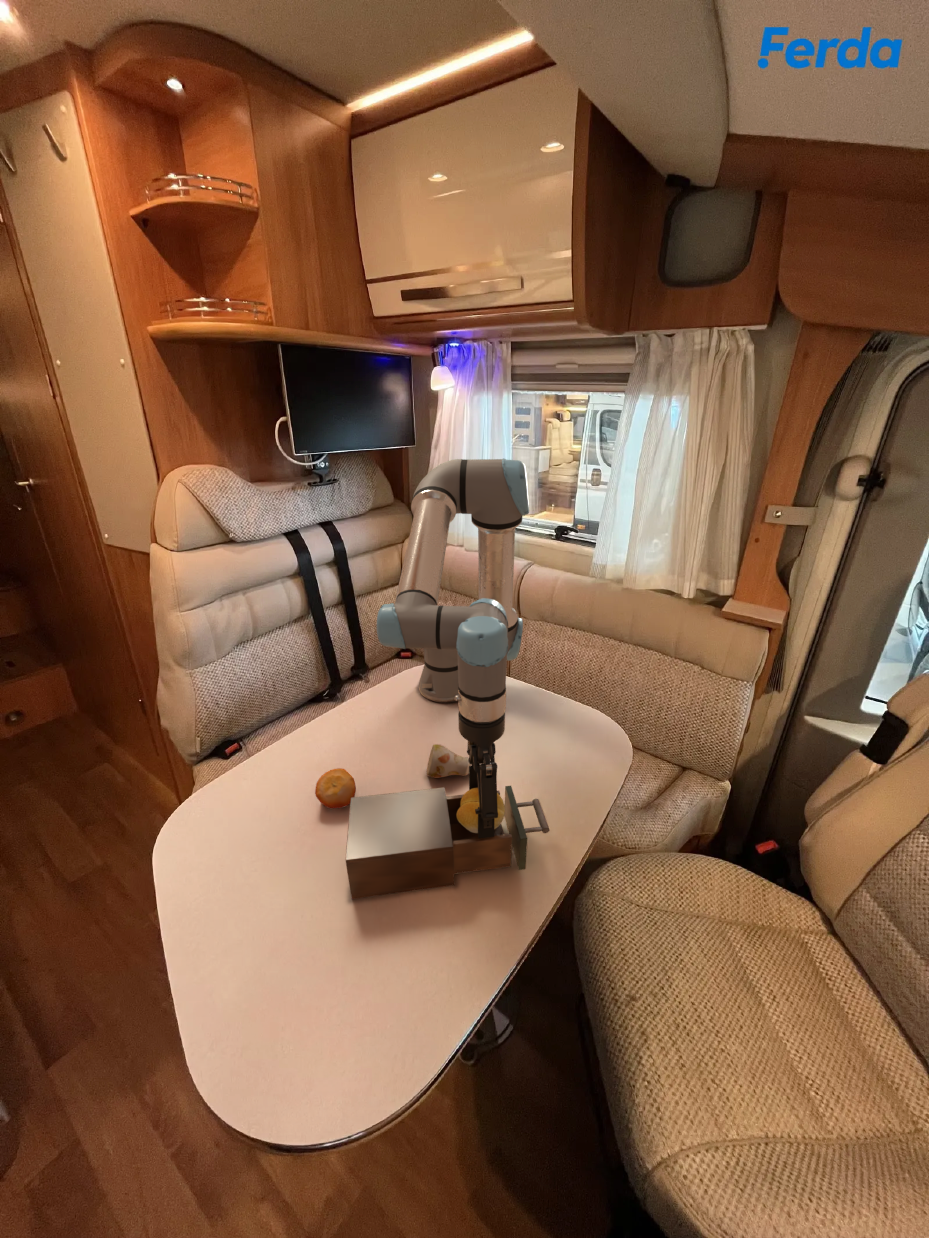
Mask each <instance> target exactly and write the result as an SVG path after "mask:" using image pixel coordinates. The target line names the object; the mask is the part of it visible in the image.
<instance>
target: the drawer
mask: <svg viewBox="0 0 929 1238" xmlns="http://www.w3.org/2000/svg"><path fill="white" fill-rule="evenodd" d="M497 793H498V794H499V795H500V796H501V792H500V790H497ZM464 794H465V793H463V794H457V795H446V798H447V805H448V812H449V819H450V826H451V833H452V840H453V847H454V875H456V874H463V873H464V874H465V873H470V872H471V873H472V872H478V871H486V870H494V869H502V868H508V867H511V866H512V851H513V854H514V857H515V861H516V865H517V869H518V871H523V870H526V868H527V867H526V866H527V865H526V864H527V849H528V835H527V834H531V833H532V834H533V833H540V832H542V833H543V834H548V833H549V832H550V830H551V829H550V826H549V824H548V821H547V817H546V815H545V813H544V810H543V807H542V804H541V802H540V799H539V798H534V799H532V800H531V801H522V802H517V800H516V796H515V793H514V790H513V787H512V785H505V786H504V806H505V812H504V820H505V824H506V828H507V831H508V833H507V834H504V831H503V827H502V823H501V824H500V825H499V826H498V827H497V828H496V829H494V837H488V838H480V839H478V833H473V832H470V831H469V830H467V829H466V828H465V827H464V826H463V825H461V824H460V823H459V821H458V819H457V811H458V809H459V808H460V807H461V806H460V804H461V799H462V797H463V795H464ZM524 807H533V809H534V811H535V815H536V818H537V820H538V824H539V826H534V827H525V826H524V822H523V820H522V815H521V813H520V810H519V809H520V808H524Z"/></svg>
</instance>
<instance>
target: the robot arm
mask: <svg viewBox="0 0 929 1238" xmlns="http://www.w3.org/2000/svg"><path fill="white" fill-rule="evenodd" d="M528 487H529V486H528V477H527V468H526V464H525V463H524V462H523V461H521V460H518V459H506V458H491V459H490V458H487V459H485V458H482V459H479V458H477V459H476V458H474V459H471V458H470V459H464V458H463V459H462V458H455V459H451V460H450V459H449V460H447V461H445V462H442V463H440V464H439V465H437V466H435V467H434V468H432V469H431V470H430V471H429V472H428V473H427V474H426V475H425V476H424V477H423V478H422V479H421V481H420V482H419V483H418V485H417V487H416V489H415V490H414V493H413V496H412V499H411V504H410V509H411V513H412V515H413V518H412V522H411V527H410V531H409V537H408V540H407V545H406V550H405V554H404V559H403V563H402V568H401V573H400V578H399V583H398V587H397V591H396V596H395V602H391V603H384V604H382V605H381V606H380V608H379V609H378V611H377V617H376V634H377V635H376V636H377V639H378V642H379V643H380V644H381V645H382V646H383V647H386V648H387V647H388V648H395V649H396V648H397V649H403V650H406V649H422V650H423V662H424V665H423V667H422V671H421V674H420V678H419V682H418V690H419V693H420V694H421V696H423V697H424V698H425V699H427V700H429V701H431V702H435V703H453V702H458V733H459V734H460V736H461V737H462V738H463V739H464V740H466V741H467V746H466V747H467V748H466V749H467V750H466V754H467V756H468V759H469V760H468V762H469V764H471V766H469V773H468V790H470V789H472V788H477V787H478V794H479V807H478V809H475V813H476V814H478V839H480V838H488V837H494V820H495V818H498V809H497V791H498V781H497V780H498V779H497V777H498V764H497V761H496V760H495V755H496V744H495V742H497V741H498V740H499V739H501V738H502V736H503V735H504V733H505V731H506V730H505V729H506V709H507V685H506V683H507V665H508V661H510V662H511V661H514V660H516V659H517V658H518V656H519V653H520V650H521V646H522V645H521V644H522V637H523V629H524V622H523V621H524V620H523V618H521V617H519V616H518V613H517V611H516V610H515V608H513V600H514V599H513V597H514V573H515V572H514V571H515V547H516V546H515V545H516V528H518V527H519V526H520V525H521V524H522V522H523V517H524V516H527V515H529V514H530V503H529V489H528ZM458 514H460V515H461V514H462V515H471V519H470V520H471V523H472V524H473V525H474V526H475V527H476V528H477V543H478V544H477V546H478V547H477V548H478V549H477V552H478V553H477V554H478V556H477V559H478V599H477V600H475V601H473V602H471V604H470V605H469V606H465V605H464V606H462V605H439V598H440V593H441V592H440V591H441V584H442V578H443V572H444V565H445V558H446V551H447V545H448V537H449V530H450V524H451V523H452V522H453V521H454V519H455V517H456V515H458Z"/></svg>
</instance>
